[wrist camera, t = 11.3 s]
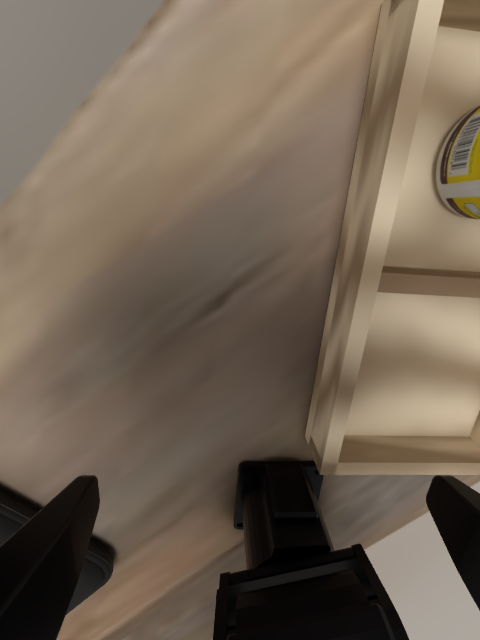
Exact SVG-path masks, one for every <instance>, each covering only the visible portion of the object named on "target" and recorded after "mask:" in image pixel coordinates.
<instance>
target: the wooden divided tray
mask: <svg viewBox="0 0 480 640" xmlns="http://www.w3.org/2000/svg"><path fill="white" fill-rule="evenodd" d="M478 106H480V0H385V1H384V2H383V3H382V6H381V12H380V17H379V23H378V29H377V34H376V40H375V46H374V51H373V57H372V62H371V68H370V74H369V79H368V85H367V90H366V96H365V102H364V107H363V113H362V119H361V124H360V130H359V135H358V141H357V147H356V152H355V158H354V163H353V169H352V175H351V180H350V186H349V191H348V197H347V203H346V208H345V214H344V220H343V225H342V231H341V236H340V242H339V248H338V253H337V259H336V264H335V270H334V276H333V281H332V287H331V293H330V298H329V304H328V309H327V315H326V321H325V326H324V332H323V337H322V343H321V349H320V354H319V360H318V365H317V371H316V377H315V382H314V388H313V394H312V399H311V405H310V410H309V416H308V422H307V427H306V433H305V438H306V441H307V443H308V446H309V449H310V451H311V454H312V456H313V459H314V461H315V464H316V466H317V469H318V472H319V474H320V475H480V219H470V218H465V217H462V216H460V215H458V214H456V213H454V212H453V211H452V210H450V209H449V208H448V207H447V206H446V204H445V203H444V202H443V200H442V198H441V196H440V194H439V191H438V188H437V182H436V168H437V161H438V158H439V154H440V151H441V149H442V146H443V144H444V142H445V140H446V138H447V137H448V135H449V133H450V132H451V131H452V129H453V128H454V127H455V125H456V124H457V123H458V122H459V121H460V120H461V119H462V118H463V117H464V116H465V115H467V114H468V113H469V112H470V111H472V110H473V109H475V108H476V107H478Z"/></svg>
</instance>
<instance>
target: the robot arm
mask: <svg viewBox="0 0 480 640" xmlns="http://www.w3.org/2000/svg"><path fill="white" fill-rule="evenodd" d="M244 469H247V470H244ZM322 480H323V475H320V474H319V472H318V470H317V466H316V464H315V463H308V462H245V463H242V464H240V465H239V469H238V479H237V490H236V501H235V511H234V527H235V528H236V529H239V530H244V539H245V550H246V562H247V570H244V571H239V572H235V573H230V572H226V573H221V574H220V584H219V589H217V595H216V609H215V621H214V633H213V640H409V638H408V636H407V633H406V631H405V628H404V626H403V624H402V622H401V619H400V617H399V615H398V613H397V611H396V609H395V607H394V605H393V604H392V602H391V600H390V598H389V596H388V594H387V592H386V590H385V588H384V587H383V585H382V583H381V581H380V579H379V577H378V575H377V574H376V572H375V570H374V568H373V566H372V564H371V562H370V561H369V559H368V557H367V555H366V553H365V551H364V549H363V547H362V546H361V544H356V545H351V546H352V547H350V548H346V549H341V550H337V551H334V548H333V545H332V542H331V539H330V536H329V533H328V531H327V528H326V525H325V522H324V519H323V516H322V513H321V510H320V507H319V505H318V499H319V494H320V489H321V485H322ZM426 503H427V506H428V509H429V511H430V513H431V515H432V517H433V519H434V521H435V524H436V526H437V528H438V530H439V532H440V535H441V537H442V539H443V541H444V543H445V545H446V547H447V550H448V552H449V554H450V556H451V558H452V560H453V562H454V564H455V566H456V568H457V570H458V572H459V574H460V576H461V578H462V580H463V582H464V583H465V585H466V587H467V589H468V590H469V592H470V594H471V596H472V598H473V599H474V601H475V603H476V605H477V606H478V608H479V610H480V493H478V492H476V491H475V490H473V489H472V488H470V487H469V486H467V485H465V484H464V483H462V482H461V481H459V480H458V479H456V478H454V477H453V476H450V475H436V476H434V477H433V479H432V482H431V485H430V487H429V490H428V493H427V496H426ZM99 504H100V497H99V487H98V479H97V477H96V476H94V475H82V476H79V477H77V478H76V479H75V480H73V481H72V482H71V483H70V484H69V485H68V486H67V487H66V488H65V489H63V490H62V491H61V492H60V493H59V494H58V495H57V496H56V497H55V498H53V499H52V500H51V501H50V502H49V503H48V504H47V505H46V506H45V507H43V508H42V509H41V510H40V511H39V512H38V513H37V514H36V515H34V516H33V517H32V518H31V519H30V520H29V521H28V522H27V523H26V524H24V525H23V526H22V527H21V528H20V529H19V530H18V531H17V532H16V533H14V534H13V535H12V536H11V537H10V538H9V539H8V540H7V541H5V542H4V543H3V544H2V545H1V546H0V640H56V639H57V636H58V633H59V631H60V628H61V626H62V623H63V620H64V618H65V615H66V613H67V610H68V607H69V605H70V602H71V600H72V597H73V594H74V591H75V589H76V586H77V583H78V580H79V577H80V573H81V570H82V566H83V563H84V559H85V556H86V552H87V549H88V545H89V542H90V538H91V535H92V531H93V528H94V524H95V520H96V517H97V513H98V510H99Z"/></svg>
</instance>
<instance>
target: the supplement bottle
mask: <svg viewBox="0 0 480 640" xmlns="http://www.w3.org/2000/svg"><path fill="white" fill-rule="evenodd" d="M436 182H437V188H438V191H439V194H440V196H441V198H442V200H443V202H444V203H445V204H446V206H447V207H448V208H449V209H450V210H452V211H453V212H454V213H456V214H458V215H460V216H462V217H465V218H470V219H480V106H478V107H476V108H475V109H473V110H472V111H470V112H469V113H468V114H467V115H465V116H464V117H463V118H462V119H461V120H460V121H459V122H458V123H457V124H456V125H455V127H454V128H453V129H452V131H451V132H450V133H449V135H448V137H447V138H446V140H445V142H444V144H443V146H442V149H441V151H440V154H439V158H438V161H437V168H436Z"/></svg>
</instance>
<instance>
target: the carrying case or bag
mask: <svg viewBox="0 0 480 640" xmlns="http://www.w3.org/2000/svg"><path fill="white" fill-rule="evenodd" d="M39 511H40V509H38V508H37V507H35V506H33V505H31V504H29V503H27V502H26V501H24V500H22V499H20V498H18V497H16V496H15V495H13V494H11V493H9V492H7V491H5V490H3V489H2V488H0V546H1V545H2V544H3V543H4V542H5V541H7V540H8V539H9V538H10V537H11V536H12V535H13V534H14V533H16V532H17V531H18V530H19V529H20V528H21V527H22V526H23V525H24V524H26V523H27V522H28V521H29V520H30V519H31V518H32V517H33V516H34V515H36V514H37V513H38V512H39ZM112 572H113V560H112V558H111V556H110V554H109V551H108V550H107V549H106V548H105V547H104V546H103V545H102V544H101V543H99V542H97V541H96V540H94V539H92V538H90V542H89V545H88V549H87V552H86V556H85V559H84V563H83V566H82V570H81V573H80V577H79V580H78V583H77V586H76V589H75V591H74V594H73V597H72V600H71V602H70V605H69V607H68V610H67V613H66V614H68V613H69V612H70V611H71V610H73V609H74V608H75V607H76V606H78V605H79V604H80V603H81V602H83V601H84V600H85V599H87V598H88V597H89V596H90V595H92V594H93V593H94V592H96V591H97V590H98V589H99V588H101V587H102V586H103V585H104V584H106V583H107V581H108V580H109V579H110V577H111V575H112Z"/></svg>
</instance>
